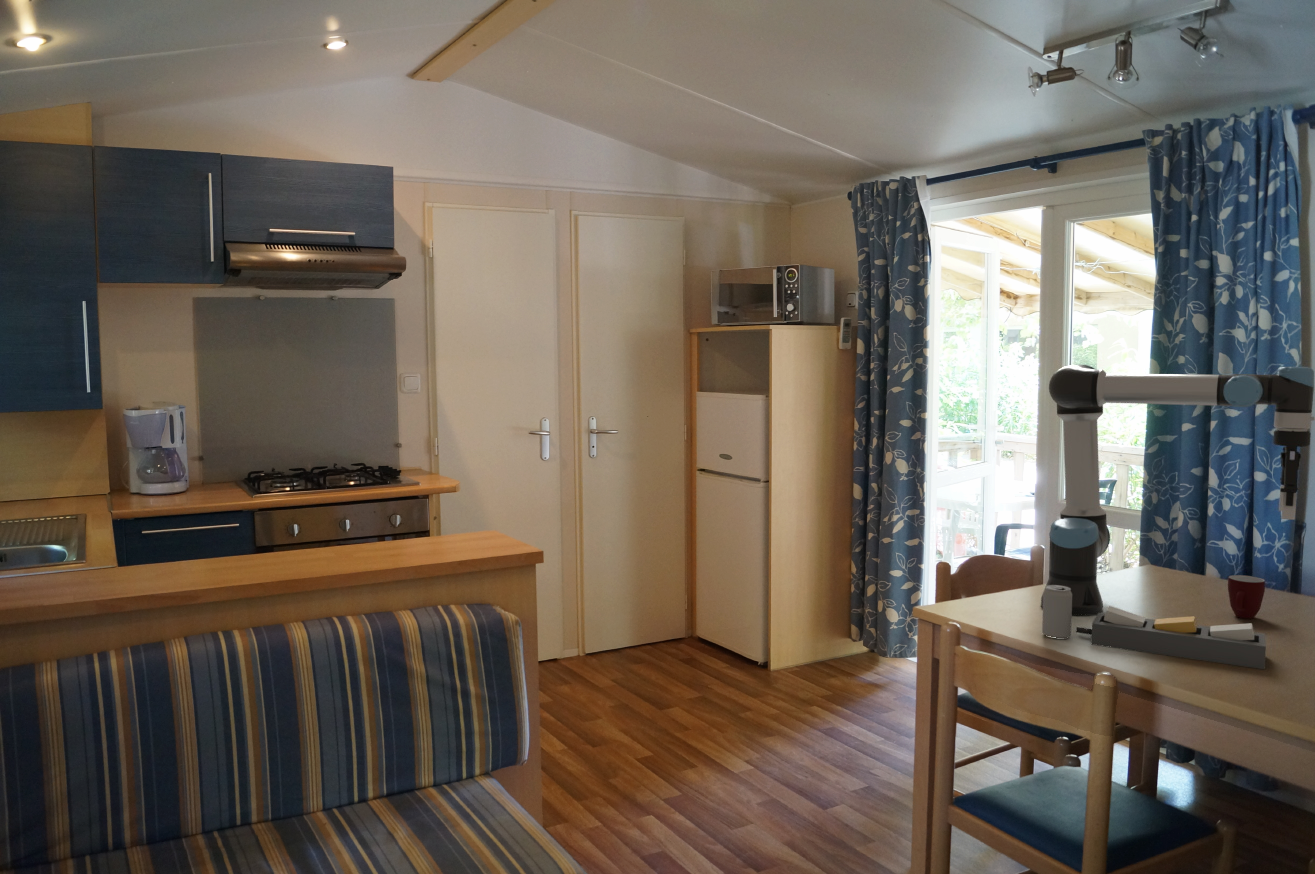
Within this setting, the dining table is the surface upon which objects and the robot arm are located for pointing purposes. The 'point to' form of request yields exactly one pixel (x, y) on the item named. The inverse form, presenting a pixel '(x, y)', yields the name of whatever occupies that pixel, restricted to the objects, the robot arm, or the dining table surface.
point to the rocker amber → (1177, 624)
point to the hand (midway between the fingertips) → (1286, 515)
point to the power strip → (1178, 642)
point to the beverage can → (1057, 611)
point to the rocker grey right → (1233, 631)
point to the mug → (1245, 595)
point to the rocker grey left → (1123, 617)
